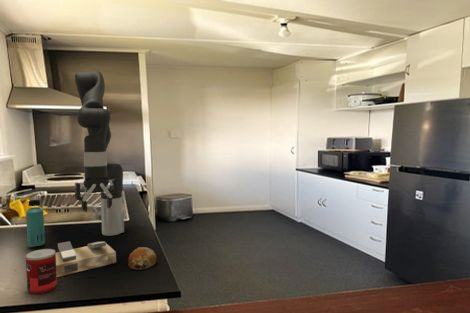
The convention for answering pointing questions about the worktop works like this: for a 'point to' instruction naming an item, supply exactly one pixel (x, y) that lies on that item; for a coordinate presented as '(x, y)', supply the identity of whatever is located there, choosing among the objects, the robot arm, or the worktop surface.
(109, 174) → the robot arm
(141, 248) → the bread roll
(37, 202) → the beverage bottle
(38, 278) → the canned food
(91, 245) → the switch
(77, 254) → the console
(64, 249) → the switch
